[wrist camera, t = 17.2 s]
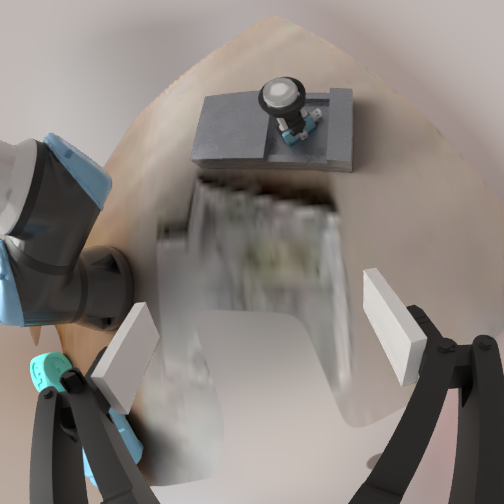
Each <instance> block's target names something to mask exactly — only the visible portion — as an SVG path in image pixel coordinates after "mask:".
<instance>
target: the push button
mask: <svg viewBox="0 0 504 504" xmlns="http://www.w3.org/2000/svg"><path fill="white" fill-rule="evenodd" d="M298 92H299V93H300V96H299V95H298ZM305 100H306V91H305V88H304V86H303V85H302V83H301V82H300V81H298V80H296V79H294V78H291V77H280V78H275V79H273V80H271V81H269V82H268V83H266V84H265V85H264V86H263V87H262V89H261V90H260V92H259V95H258V102H259V105H260V106H261V108H262V109H263V110H264V111H265V112H266V113H268V114H269V115H270V116H272V117H274V118H277V120H278V122H279V124H278V125H276V127H275V128H276V130H277V131H278V133H279V135H280V136H281V137H282V138H283V139H284V141H285V142H286V143H287V144H288V145H291V144H292V143H293V142H295V141H296V140H297V139H299V138H301V140H304V139H305V138H307V137H308V134H307V133H308V132H309V131H310V130H312V129H313V128H315V126H316V125H315V122H316V121H317V119H319V118H320V117H322V114H321V111H320V110H319V109H316V110H315V111H313V112H310V113H308V112H307V111H306V110H305V109H304V108H303V107H304V105H305ZM267 104H268V105H269V106H270V108H269V107H268V106H267ZM316 111H318V113H316ZM317 115H320V116H319V117H317ZM305 135H306V136H305ZM303 136H305V137H304V138H303Z"/></svg>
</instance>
